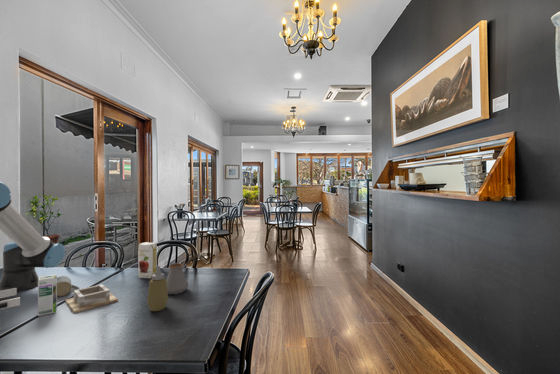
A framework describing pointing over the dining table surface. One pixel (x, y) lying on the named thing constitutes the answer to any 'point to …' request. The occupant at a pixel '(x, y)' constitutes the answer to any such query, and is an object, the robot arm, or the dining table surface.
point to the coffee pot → (177, 278)
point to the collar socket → (90, 298)
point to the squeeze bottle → (157, 291)
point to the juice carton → (147, 259)
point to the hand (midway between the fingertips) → (18, 295)
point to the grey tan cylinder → (65, 286)
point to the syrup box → (47, 294)
